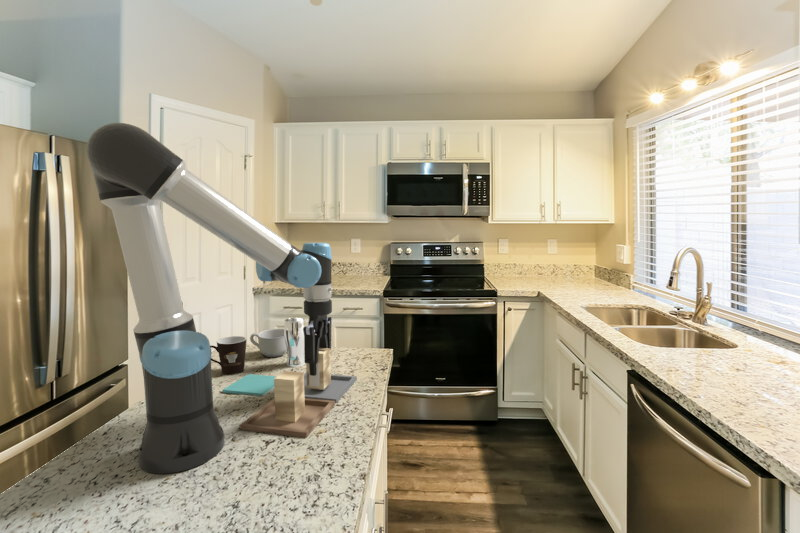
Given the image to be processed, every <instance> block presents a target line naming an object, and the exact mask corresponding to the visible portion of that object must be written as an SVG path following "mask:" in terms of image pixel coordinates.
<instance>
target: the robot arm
mask: <svg viewBox="0 0 800 533" xmlns="http://www.w3.org/2000/svg"><path fill="white" fill-rule="evenodd" d="M86 157H87V159H88V162H89V164H90V167H91V168H90V169H91V171H92V174H93V177H94V181H95V185H96V190H97V193H98V194H97V195H98V198H99V201H100V203H101V204H103V205H104V206H106V207H108V208H110V210H111V212H112V216H113V220H114V223H115V224H114V225H115V228H116V232H117V235H118V236H117V237H118V240H119V244H120V248H121V251H122V255H123V260H124V264H125V268H126V272H127V275H128V276H127V277H128V280H129V283H130V288H131V292H132V296H133V300H134V303H135V308H136V312H137V316H138V319H139V321H138V322H137V324H135V325H134V326H135V327H134V328H133V333H134V339H135V342H136V345H137V351H138V356H139V361H140V363H141V369H142V374H143V384H144V387H143V388H144V397H145V398H144V399H145V410H146V411H145V412H146V424H145V427H144V431H143V435H142V439H141V444H140V445H139V447H138V453H137V456H138V457H137V458H138V465H139V467H140V469H142V471H144V472H148V473H149V474H160V475H161V474H162V475H163V474H173V473H179V472H183V471H188V470H189V469H193V468H196V467H199V466H201V465H202V464H205V463H206V462H208V461H211V459H213V458H214V457H216V456H218V455H219V453H221V451H222V450H223V448H224V446H225V432H224V429H223V427H222V426H221V425H220V421H219V419H218V417H217V413H216V411H215V409H214V397H213V396H214V394H213V377H212V376H213V375H212V361H211V358H212V348H211V347H210V346H211V344H210V340H209V338H208V337H207V335H205V334H203V333H202V332H198V331H197V329H196V324H195V321H194V316H193V314H191V313H189V312H187V311H186V310H185V309H184V306H183V301H182V297H181V293H180V288H179V283H178V279H177V275H176V270H175V267H174V262H173V258H172V254H171V249H170V244H169V240H168V236H167V235H168V234H167V231H166V227H165V223H164V219H163V214H162V211H161V203H162V202H163V203H165V204H166V205H168V206H169V207H171V208H172V209H174V210H175V211H176V212H179V214H182V215H183V216H185V217H186V218H188V219H189V220H191V221H193V222H194V223H196V224H198V225H199V226H200V227H202V228H203V229H205V230H207V231H208V232H210V233H211V234H213V235H214V236H216V237H217V238H219V239H221V240H222V241H223V242H225V243H226V244H228V245H230V246H231V247H232V248H235V249H236V250H237V251H239V252H241V253H242V254H243V255H245V256H247V257H248V258H250V259H251V260H253V261H255V273H256V276H257V278H258V280H259V281H260V282H271V283H272V282H277V281H278V282H282V283H285V284H289V285H292V286H293V287H295V288H299V289H301V288H303V299H304V301H303V314H305V315H306V316H308V323H307V324H308V325H306V327H304V328H303V332H304V357H305V363H309V386H315V387H319V386H320V365H319V362H318V354H319V348H331V349H332V317H331V316H328V315H330V314H331V313H332V312H333V304H332V303H333V301H332V299H331V298H332V294H333V293H332V292H333V290H334V288H333V287H332V261H333V259H332V248H331V245H330V244H329V243H328V242H304V243H303V244H302V249H298V248H297V247H295V246H294V245H292V244H291V243H290V242H288V241H287V240H286V239H284V238H283V237H281V236H280V235H279V234H277V233H276V232H274V231H273V230H272V229H270V227H268V226H266V225H265V224H263V223H262V222H261V221H259V220H258V219H257V218H255V217H254V216H252V215H251V214H249V213H248V212H247V211H246V210H244V209H243V208H241V207H240V206H239V205H237V204H236V203H234V202H233V201H232V200H230V199H229V198H227V197H226V196H225V195H223V194H222V193H220V191H218V190H216V189H215V188H214V187H212V186H211V185H210V184H208V183H207V182H205V181H204V180H202V179H201V178H199V177H198V176H197V175H196V174H194V173H192V172H191V171H189V170H188V169H187V167H186V163H185V160H183V159H182V158H181V157H180V156H178V155H177V154H175V153H174V152H173V151H171V150H170V149H169V148H168V147H167V146H165V145H164V144H162V143H161V142H160V141H159V140H157V138H155V137H154V136H153V135H151V134H150V133H149V132H148V131H146V130H144V129H142V128H141V127H138V126H135V125H133V124H130V123H124V122H113V123H108V124H104V125H102V126H100V127H98V128H97V129H96V130H94V131H93V132H92V134H91V135H90V137H89V139H88V141H87V144H86Z"/></svg>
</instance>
